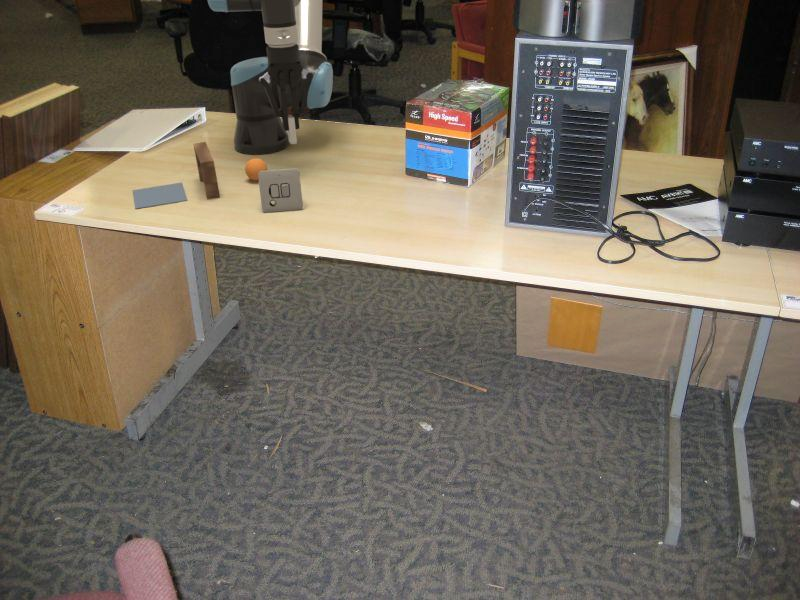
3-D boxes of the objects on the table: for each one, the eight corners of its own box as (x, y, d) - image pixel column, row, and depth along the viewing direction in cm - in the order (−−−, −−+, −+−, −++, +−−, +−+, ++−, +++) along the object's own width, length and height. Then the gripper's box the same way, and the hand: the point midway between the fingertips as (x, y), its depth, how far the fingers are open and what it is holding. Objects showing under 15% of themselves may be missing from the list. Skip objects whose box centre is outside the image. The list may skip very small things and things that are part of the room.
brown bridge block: (211, 176, 190) (205, 141, 185) (220, 197, 178) (213, 160, 174) (199, 178, 189) (193, 143, 185) (207, 199, 178) (200, 162, 173)
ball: (266, 174, 190) (263, 153, 187) (270, 181, 186) (268, 160, 183) (244, 177, 189) (241, 157, 186) (248, 185, 184) (245, 164, 181)
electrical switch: (261, 213, 170) (256, 173, 166) (263, 206, 174) (258, 167, 170) (303, 210, 171) (299, 171, 167) (303, 203, 175) (299, 164, 171)
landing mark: (182, 183, 187) (182, 182, 187) (187, 200, 177) (187, 199, 177) (132, 190, 184) (132, 190, 184) (135, 209, 174) (135, 208, 174)
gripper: (257, 50, 169) (270, 150, 181) (313, 44, 172) (322, 143, 184) (251, 44, 175) (264, 141, 187) (305, 38, 178) (314, 134, 190)
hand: (292, 142), depth 185 cm, fingers closed
